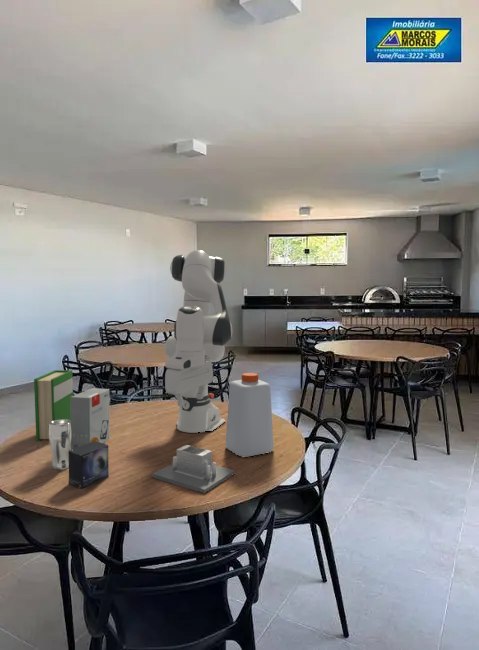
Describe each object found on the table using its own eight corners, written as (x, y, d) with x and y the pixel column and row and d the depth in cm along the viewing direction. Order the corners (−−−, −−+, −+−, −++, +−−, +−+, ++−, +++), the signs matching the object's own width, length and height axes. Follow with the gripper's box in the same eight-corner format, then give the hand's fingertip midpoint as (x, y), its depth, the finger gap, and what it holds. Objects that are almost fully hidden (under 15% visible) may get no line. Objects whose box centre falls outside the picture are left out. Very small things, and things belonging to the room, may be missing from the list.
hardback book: (55, 441, 174) (53, 379, 172) (36, 441, 174) (34, 379, 172) (73, 426, 191) (72, 370, 189) (56, 426, 192) (54, 370, 189)
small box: (82, 489, 134) (81, 455, 133) (67, 484, 137) (66, 450, 136) (110, 476, 143) (109, 444, 142) (95, 472, 146) (95, 440, 145)
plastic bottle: (278, 452, 164) (279, 376, 161) (241, 460, 156) (242, 380, 154) (256, 440, 177) (257, 368, 174) (221, 446, 170) (221, 372, 167)
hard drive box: (89, 453, 162) (88, 398, 160) (70, 451, 163) (68, 397, 162) (110, 438, 177) (109, 388, 175) (92, 437, 179) (91, 387, 177)
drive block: (186, 465, 148) (186, 444, 148) (211, 472, 143) (211, 450, 142) (176, 470, 144) (176, 449, 144) (202, 478, 139) (202, 455, 138)
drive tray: (185, 460, 156) (185, 446, 155) (234, 474, 145) (234, 458, 145) (152, 477, 142) (152, 461, 142) (204, 493, 132) (204, 476, 131)
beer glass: (77, 464, 152) (75, 420, 151) (62, 472, 146) (61, 426, 144) (60, 461, 154) (58, 418, 153) (45, 469, 148) (43, 424, 146)
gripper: (202, 353, 152) (202, 393, 154) (161, 363, 135) (161, 408, 137) (217, 354, 149) (217, 396, 151) (177, 365, 132) (178, 411, 133)
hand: (190, 402), depth 143 cm, fingers open, 8 cm apart
